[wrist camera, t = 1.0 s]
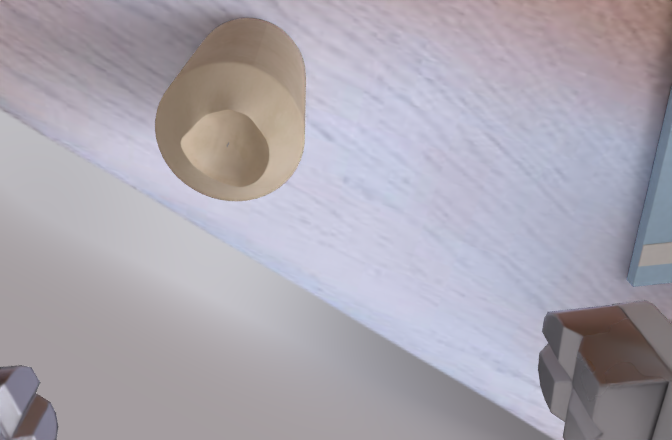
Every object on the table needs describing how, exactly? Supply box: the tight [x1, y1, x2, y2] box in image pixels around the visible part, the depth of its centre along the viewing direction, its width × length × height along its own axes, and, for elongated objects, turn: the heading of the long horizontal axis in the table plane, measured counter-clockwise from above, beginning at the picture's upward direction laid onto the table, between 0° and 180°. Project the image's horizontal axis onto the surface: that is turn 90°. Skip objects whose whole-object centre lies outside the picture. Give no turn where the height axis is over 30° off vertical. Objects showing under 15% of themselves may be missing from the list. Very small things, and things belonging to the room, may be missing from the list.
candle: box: [155, 18, 306, 201], centre depth 23 cm, size 6×6×10 cm
